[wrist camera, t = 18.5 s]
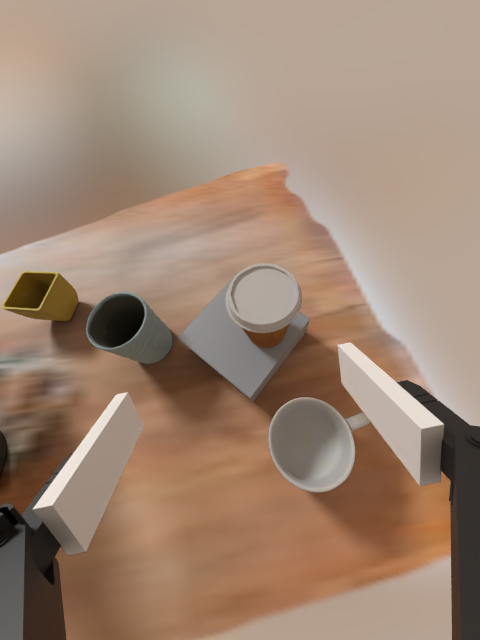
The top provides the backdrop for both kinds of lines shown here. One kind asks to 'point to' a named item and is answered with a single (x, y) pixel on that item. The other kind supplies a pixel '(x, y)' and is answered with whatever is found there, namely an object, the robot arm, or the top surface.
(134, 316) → the grey-green cup
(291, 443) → the teacup
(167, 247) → the top surface
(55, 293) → the flower pot
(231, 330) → the riser block
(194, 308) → the top surface
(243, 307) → the disposable coffee cup
